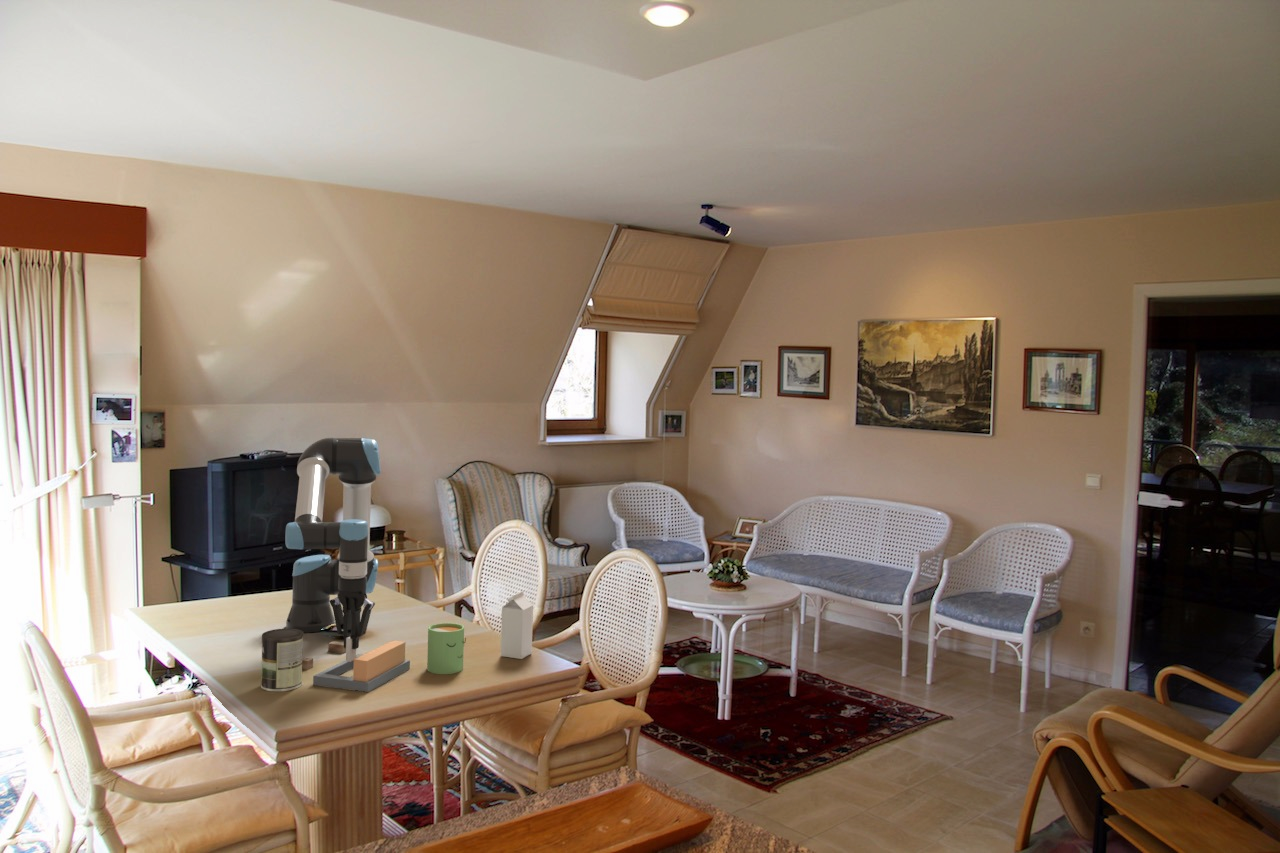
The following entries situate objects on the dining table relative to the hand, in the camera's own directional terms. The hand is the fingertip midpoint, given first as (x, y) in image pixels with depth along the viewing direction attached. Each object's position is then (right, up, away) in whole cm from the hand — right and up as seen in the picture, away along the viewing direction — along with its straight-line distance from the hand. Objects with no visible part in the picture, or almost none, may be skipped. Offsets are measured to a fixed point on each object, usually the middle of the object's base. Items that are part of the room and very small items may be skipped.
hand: (350, 659), depth 259 cm
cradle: (-13, -3, +13) cm, 19 cm away
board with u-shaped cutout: (+4, -4, -1) cm, 6 cm away
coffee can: (-15, -4, -11) cm, 19 cm away
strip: (+9, -5, -3) cm, 11 cm away
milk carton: (+43, -5, +24) cm, 49 cm away
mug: (+25, -5, +9) cm, 27 cm away
